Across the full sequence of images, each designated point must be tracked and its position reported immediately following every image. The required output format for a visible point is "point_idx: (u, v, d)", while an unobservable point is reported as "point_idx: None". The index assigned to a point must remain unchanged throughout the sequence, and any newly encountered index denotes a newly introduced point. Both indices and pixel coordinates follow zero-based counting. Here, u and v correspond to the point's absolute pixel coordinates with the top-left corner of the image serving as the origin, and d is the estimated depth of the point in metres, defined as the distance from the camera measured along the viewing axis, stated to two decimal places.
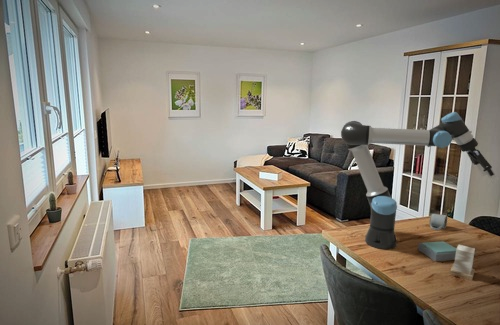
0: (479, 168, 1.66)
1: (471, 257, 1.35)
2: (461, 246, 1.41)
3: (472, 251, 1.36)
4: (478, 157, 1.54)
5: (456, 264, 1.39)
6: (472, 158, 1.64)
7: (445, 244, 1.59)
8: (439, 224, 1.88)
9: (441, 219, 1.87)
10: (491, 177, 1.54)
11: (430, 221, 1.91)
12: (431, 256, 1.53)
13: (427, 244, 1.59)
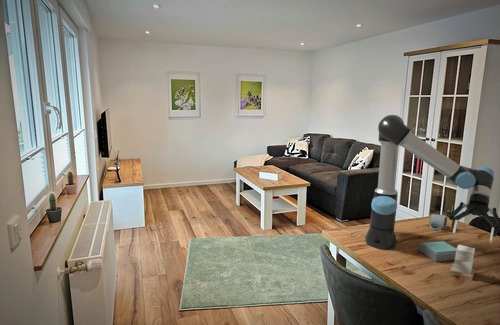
0: (456, 225, 1.50)
1: (471, 257, 1.35)
2: (461, 246, 1.41)
3: (472, 251, 1.36)
4: (496, 214, 1.45)
5: (456, 264, 1.39)
6: (467, 212, 1.50)
7: (445, 244, 1.59)
8: (439, 224, 1.87)
9: (441, 219, 1.87)
10: (492, 236, 1.41)
11: (429, 221, 1.90)
12: (431, 256, 1.53)
13: (427, 244, 1.59)
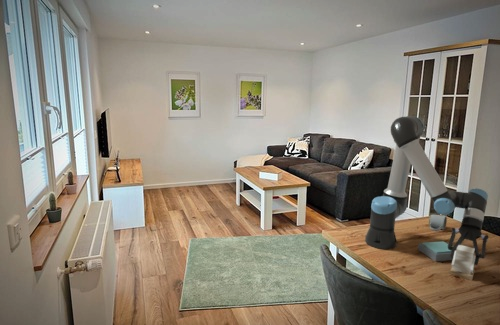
0: None
1: (471, 257, 1.35)
2: (461, 246, 1.41)
3: (472, 251, 1.36)
4: None
5: (456, 264, 1.39)
6: (462, 239, 1.43)
7: (445, 244, 1.59)
8: (438, 225, 1.86)
9: (441, 219, 1.86)
10: (473, 265, 1.35)
11: (429, 221, 1.90)
12: (431, 256, 1.53)
13: (427, 244, 1.59)
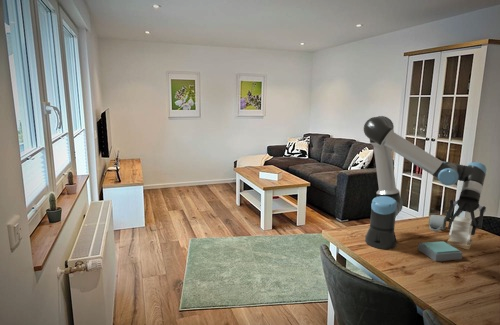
0: None
1: (468, 227, 1.38)
2: (459, 217, 1.44)
3: (469, 221, 1.39)
4: (483, 213, 1.41)
5: (454, 234, 1.42)
6: (460, 210, 1.46)
7: (445, 244, 1.59)
8: (438, 225, 1.86)
9: (440, 220, 1.85)
10: (470, 235, 1.39)
11: (429, 222, 1.89)
12: (431, 256, 1.53)
13: (427, 244, 1.59)
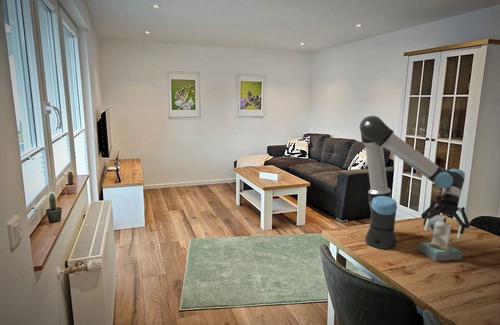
0: (427, 223, 1.59)
1: (447, 231, 1.51)
2: (439, 222, 1.57)
3: (448, 226, 1.52)
4: (464, 213, 1.54)
5: (435, 238, 1.55)
6: (438, 211, 1.60)
7: None
8: None
9: (440, 220, 1.85)
10: (459, 234, 1.50)
11: None
12: (431, 256, 1.53)
13: (427, 244, 1.59)
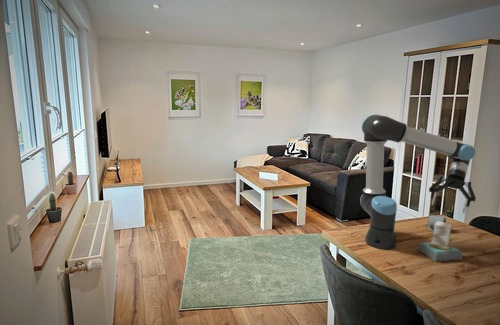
0: (435, 196, 1.67)
1: (447, 231, 1.51)
2: (439, 222, 1.57)
3: (448, 226, 1.52)
4: None
5: (435, 238, 1.55)
6: (445, 185, 1.67)
7: None
8: None
9: (440, 220, 1.84)
10: (465, 206, 1.58)
11: (428, 222, 1.88)
12: (431, 256, 1.53)
13: (427, 244, 1.59)
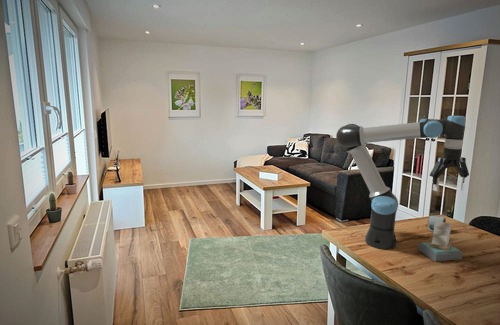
0: None
1: (447, 231, 1.51)
2: (439, 222, 1.57)
3: (448, 226, 1.52)
4: None
5: (435, 238, 1.55)
6: (445, 168, 1.59)
7: None
8: None
9: None
10: None
11: (428, 223, 1.88)
12: (431, 256, 1.53)
13: (427, 244, 1.59)
